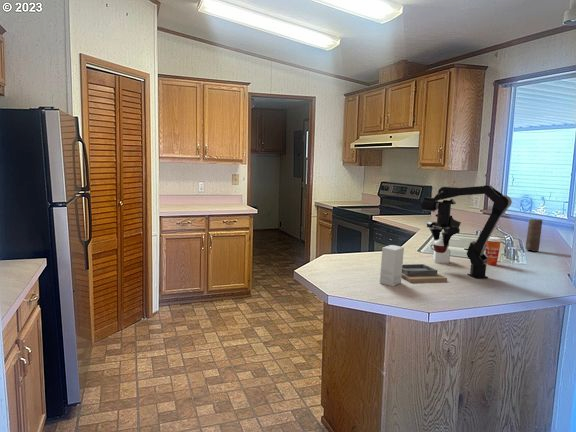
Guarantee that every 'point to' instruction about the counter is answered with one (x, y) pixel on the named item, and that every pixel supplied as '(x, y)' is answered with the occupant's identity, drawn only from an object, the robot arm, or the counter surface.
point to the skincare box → (391, 265)
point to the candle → (533, 234)
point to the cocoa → (439, 246)
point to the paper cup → (492, 250)
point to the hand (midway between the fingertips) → (441, 244)
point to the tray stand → (421, 273)
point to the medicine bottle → (442, 256)
